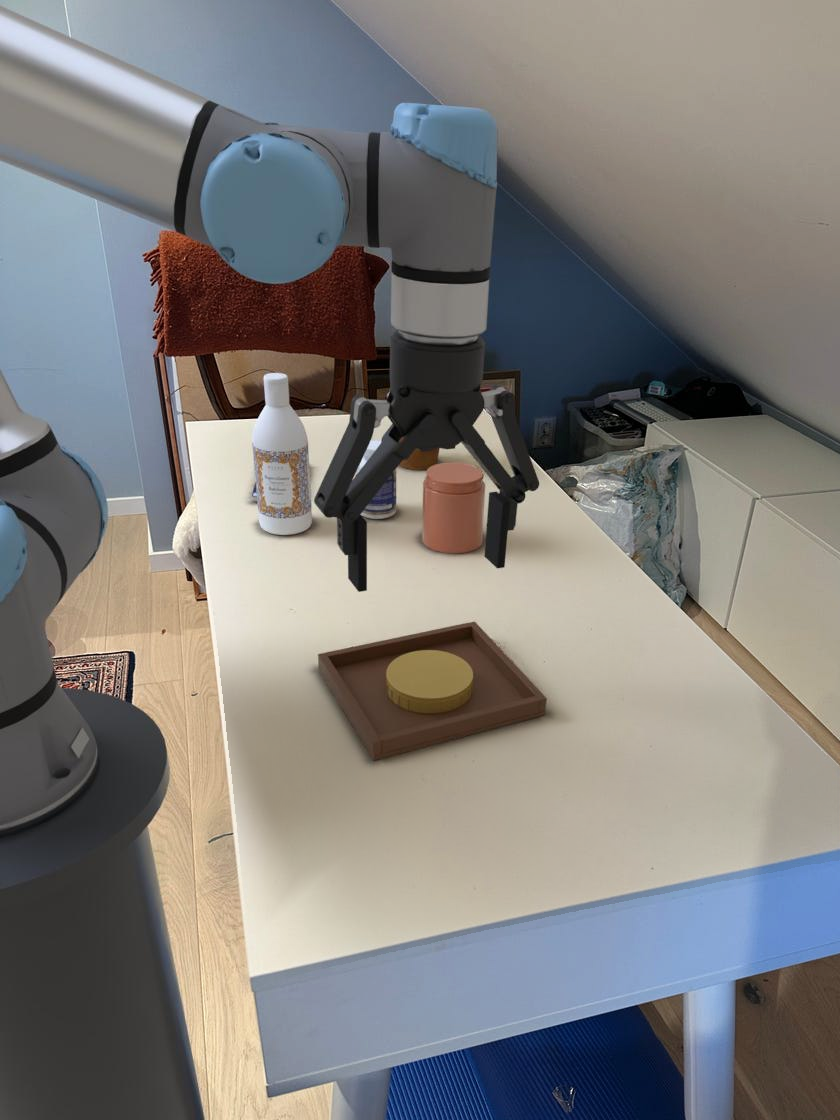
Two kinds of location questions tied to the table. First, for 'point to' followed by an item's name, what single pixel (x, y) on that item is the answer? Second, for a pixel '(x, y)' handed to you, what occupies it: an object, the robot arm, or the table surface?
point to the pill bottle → (380, 491)
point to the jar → (453, 508)
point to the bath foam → (281, 462)
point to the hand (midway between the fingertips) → (428, 573)
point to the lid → (429, 681)
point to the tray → (399, 730)
